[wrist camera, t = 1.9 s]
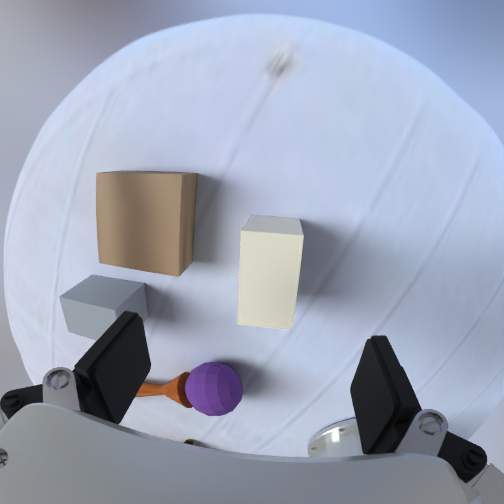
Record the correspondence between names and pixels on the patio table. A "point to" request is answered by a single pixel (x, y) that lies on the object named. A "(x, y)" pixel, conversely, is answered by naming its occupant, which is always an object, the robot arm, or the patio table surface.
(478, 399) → the patio table surface
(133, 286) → the slate grey brick
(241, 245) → the cream brick
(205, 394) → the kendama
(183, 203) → the walnut block
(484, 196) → the patio table surface
